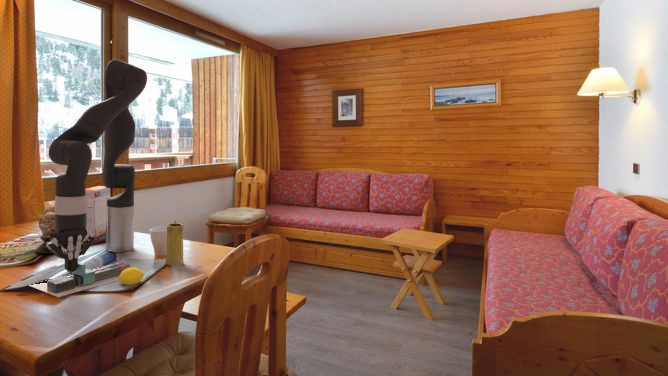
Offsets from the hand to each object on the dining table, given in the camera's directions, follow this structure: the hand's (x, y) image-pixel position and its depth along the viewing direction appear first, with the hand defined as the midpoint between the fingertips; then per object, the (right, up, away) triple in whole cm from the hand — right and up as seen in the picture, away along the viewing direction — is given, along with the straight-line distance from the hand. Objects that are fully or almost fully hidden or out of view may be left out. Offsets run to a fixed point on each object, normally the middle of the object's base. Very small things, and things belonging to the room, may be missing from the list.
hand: (71, 271), depth 114 cm
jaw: (+3, -4, +9) cm, 10 cm away
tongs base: (+2, -4, +5) cm, 7 cm away
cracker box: (-29, +3, +61) cm, 68 cm away
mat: (0, -4, +7) cm, 8 cm away
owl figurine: (-30, 0, +37) cm, 47 cm away
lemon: (+14, -6, +6) cm, 16 cm away
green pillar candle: (+18, -4, +28) cm, 33 cm away
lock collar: (+1, -4, +3) cm, 5 cm away
